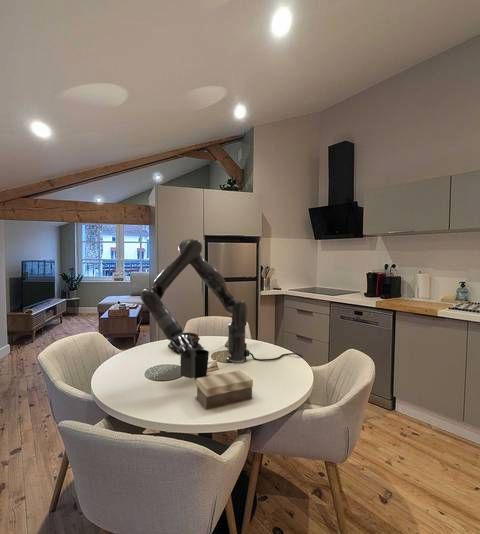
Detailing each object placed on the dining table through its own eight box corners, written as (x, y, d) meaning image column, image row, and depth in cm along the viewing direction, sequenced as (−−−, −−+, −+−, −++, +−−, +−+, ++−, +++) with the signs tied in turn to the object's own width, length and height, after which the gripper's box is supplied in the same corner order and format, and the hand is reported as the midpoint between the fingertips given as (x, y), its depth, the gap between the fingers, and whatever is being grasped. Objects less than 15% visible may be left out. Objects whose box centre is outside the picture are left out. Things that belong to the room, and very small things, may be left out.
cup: (211, 375, 150) (211, 350, 150) (205, 381, 143) (205, 355, 142) (196, 373, 153) (196, 348, 152) (189, 379, 145) (189, 353, 145)
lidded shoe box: (239, 388, 136) (239, 370, 136) (252, 399, 126) (252, 379, 126) (196, 397, 127) (196, 378, 127) (206, 409, 117) (206, 389, 117)
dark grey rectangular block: (185, 373, 136) (185, 346, 135) (195, 375, 133) (195, 348, 133) (180, 375, 133) (180, 348, 133) (191, 378, 130) (191, 350, 130)
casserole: (210, 350, 186) (210, 337, 186) (184, 358, 174) (184, 343, 174) (186, 341, 205) (186, 329, 204) (161, 347, 192) (161, 334, 192)
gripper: (163, 324, 130) (187, 358, 124) (184, 318, 142) (206, 348, 136) (153, 335, 133) (176, 368, 127) (175, 328, 145) (196, 358, 139)
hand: (192, 358), depth 132 cm, fingers closed on dark grey rectangular block, 3 cm apart
